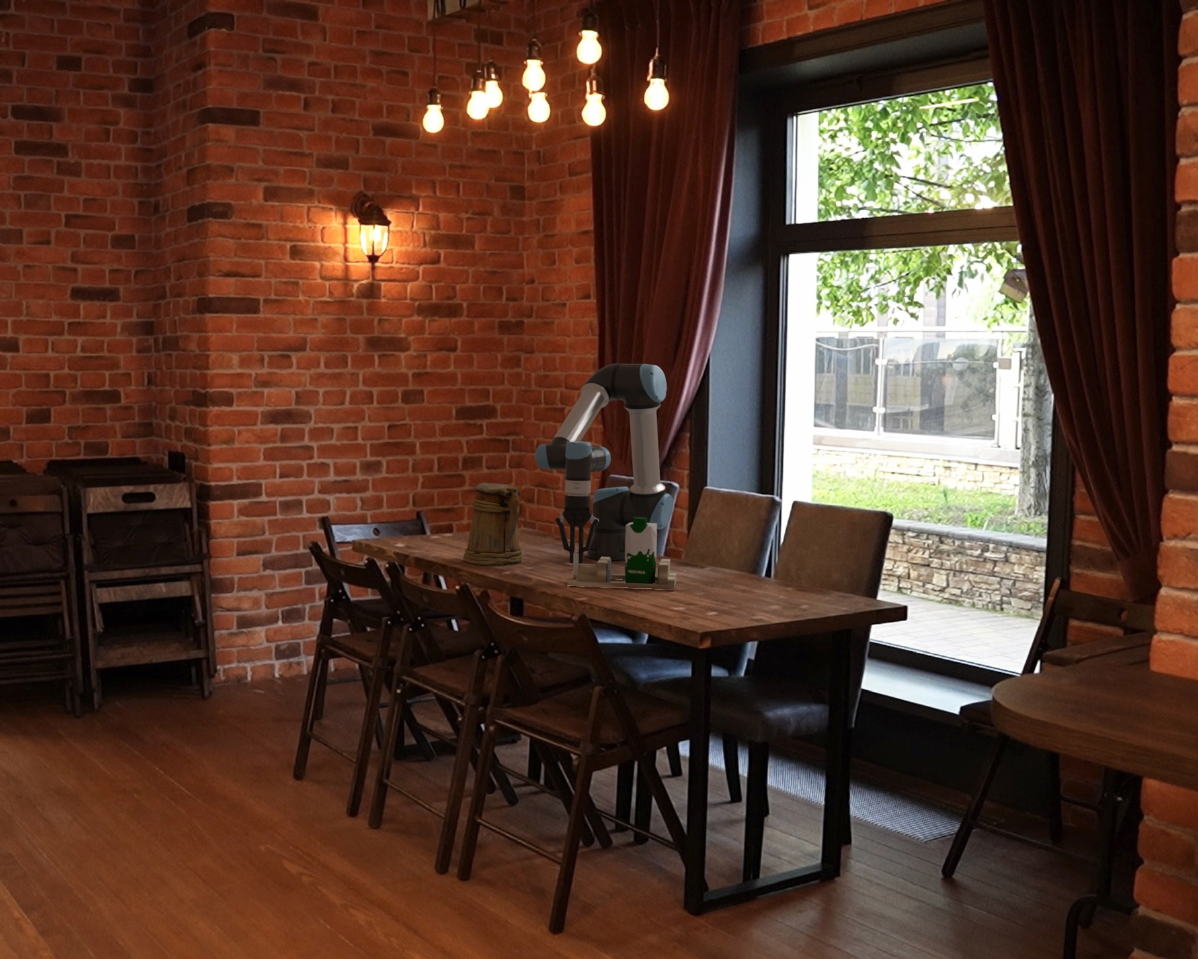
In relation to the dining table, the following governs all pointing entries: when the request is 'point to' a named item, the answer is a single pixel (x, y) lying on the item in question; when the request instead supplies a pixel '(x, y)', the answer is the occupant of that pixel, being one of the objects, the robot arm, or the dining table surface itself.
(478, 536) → the tankard
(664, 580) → the vise bed
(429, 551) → the dining table surface
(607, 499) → the robot arm
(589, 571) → the sliding jaw
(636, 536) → the soya milk
